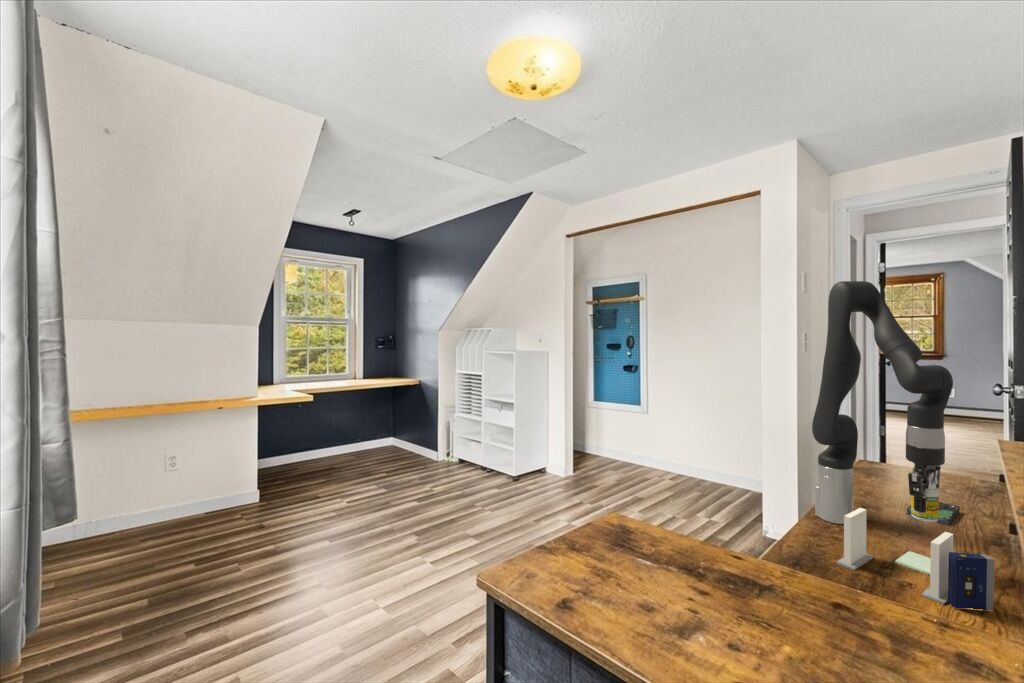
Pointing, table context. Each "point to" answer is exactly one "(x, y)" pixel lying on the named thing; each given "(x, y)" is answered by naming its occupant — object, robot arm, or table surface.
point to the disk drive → (944, 513)
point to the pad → (915, 562)
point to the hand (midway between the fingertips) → (924, 508)
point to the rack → (858, 556)
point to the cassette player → (971, 581)
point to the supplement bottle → (928, 506)
